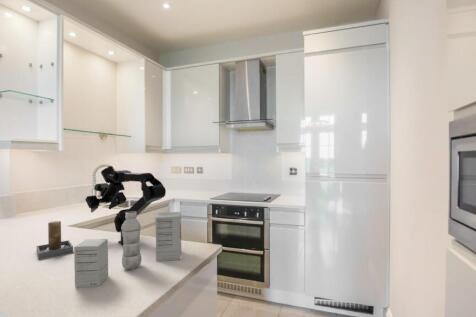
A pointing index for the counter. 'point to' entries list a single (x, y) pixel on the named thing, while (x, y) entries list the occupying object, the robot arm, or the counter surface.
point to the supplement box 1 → (91, 262)
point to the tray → (56, 252)
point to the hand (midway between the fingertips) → (100, 210)
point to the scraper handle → (54, 236)
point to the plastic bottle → (131, 241)
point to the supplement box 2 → (168, 236)
